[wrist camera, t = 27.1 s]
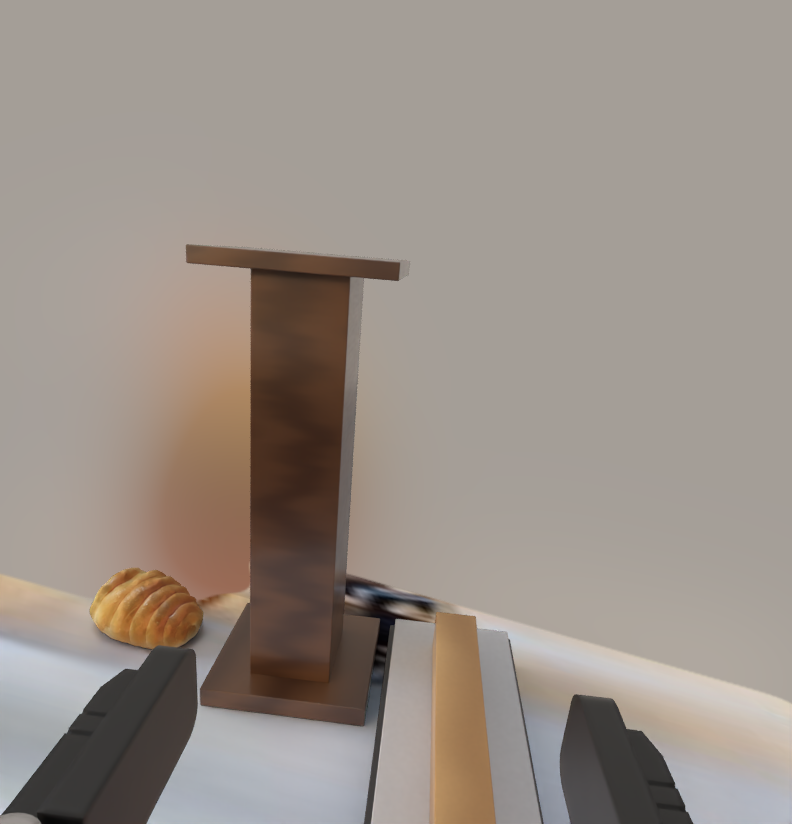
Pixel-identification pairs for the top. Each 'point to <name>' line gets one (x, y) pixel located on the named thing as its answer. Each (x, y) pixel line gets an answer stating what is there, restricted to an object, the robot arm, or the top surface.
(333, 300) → the stand
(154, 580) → the pastry
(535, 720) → the top surface
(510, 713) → the scale
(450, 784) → the beech stick
